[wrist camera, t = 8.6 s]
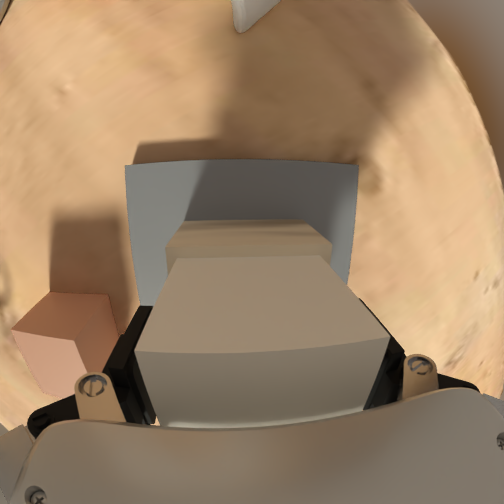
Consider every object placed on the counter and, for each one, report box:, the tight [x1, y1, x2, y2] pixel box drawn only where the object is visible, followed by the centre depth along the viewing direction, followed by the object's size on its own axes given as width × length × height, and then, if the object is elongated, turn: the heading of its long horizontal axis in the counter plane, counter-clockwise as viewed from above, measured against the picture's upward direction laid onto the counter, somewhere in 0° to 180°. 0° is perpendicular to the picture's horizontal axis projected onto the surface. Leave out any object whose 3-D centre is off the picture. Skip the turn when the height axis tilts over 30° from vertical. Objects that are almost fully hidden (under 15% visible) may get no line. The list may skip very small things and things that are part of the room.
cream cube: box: [134, 255, 390, 428], centre depth 9 cm, size 6×6×6 cm
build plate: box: [125, 159, 359, 307], centre depth 17 cm, size 14×14×1 cm
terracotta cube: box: [11, 292, 119, 399], centre depth 16 cm, size 6×6×6 cm
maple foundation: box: [165, 219, 332, 275], centre depth 15 cm, size 7×7×5 cm
